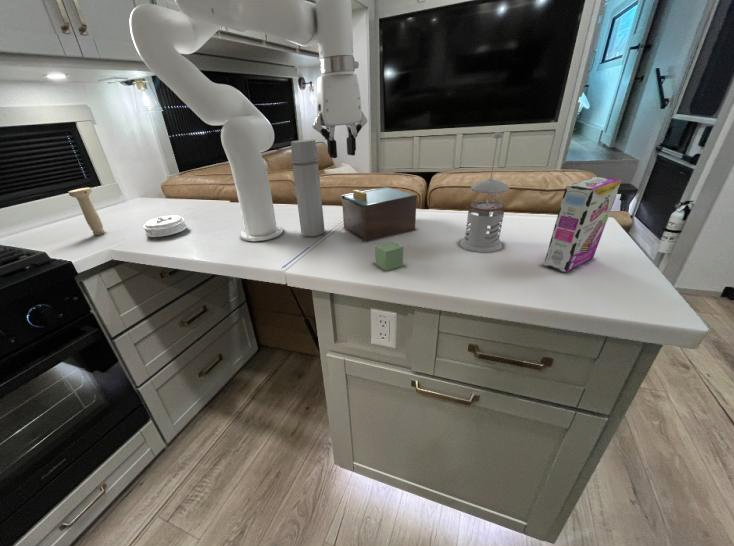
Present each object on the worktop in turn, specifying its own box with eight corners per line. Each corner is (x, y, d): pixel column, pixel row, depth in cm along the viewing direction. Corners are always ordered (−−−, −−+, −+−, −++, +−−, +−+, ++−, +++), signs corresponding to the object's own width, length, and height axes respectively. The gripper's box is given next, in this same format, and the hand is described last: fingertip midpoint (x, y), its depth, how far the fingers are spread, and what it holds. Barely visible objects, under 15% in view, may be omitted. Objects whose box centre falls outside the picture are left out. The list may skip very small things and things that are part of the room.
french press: (452, 246, 81) (465, 134, 69) (472, 233, 89) (487, 128, 76) (493, 255, 75) (515, 134, 63) (511, 239, 82) (534, 128, 70)
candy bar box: (567, 274, 65) (594, 189, 57) (542, 266, 69) (563, 185, 61) (595, 258, 70) (623, 178, 62) (570, 252, 74) (594, 175, 66)
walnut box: (343, 227, 100) (341, 195, 95) (388, 218, 105) (388, 186, 100) (366, 241, 89) (365, 205, 84) (415, 230, 94) (417, 195, 89)
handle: (86, 237, 113) (64, 192, 105) (102, 230, 118) (83, 187, 110) (96, 237, 111) (75, 192, 103) (112, 231, 116) (93, 187, 109)
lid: (194, 230, 110) (190, 215, 107) (157, 242, 102) (151, 226, 99) (176, 224, 117) (171, 210, 115) (140, 235, 109) (134, 220, 107)
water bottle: (323, 237, 94) (313, 141, 81) (297, 237, 96) (283, 143, 83) (330, 227, 102) (322, 137, 89) (305, 227, 103) (294, 139, 91)
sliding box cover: (344, 198, 95) (343, 188, 94) (389, 189, 100) (389, 180, 99) (365, 207, 85) (365, 197, 84) (414, 197, 90) (414, 187, 89)
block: (375, 263, 76) (374, 245, 74) (391, 259, 78) (392, 240, 75) (385, 271, 73) (385, 251, 70) (403, 266, 74) (403, 247, 72)
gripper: (362, 68, 79) (364, 151, 89) (296, 72, 74) (306, 159, 83) (378, 64, 73) (378, 153, 83) (307, 67, 68) (317, 162, 77)
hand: (342, 155), depth 83 cm, fingers open, 4 cm apart
